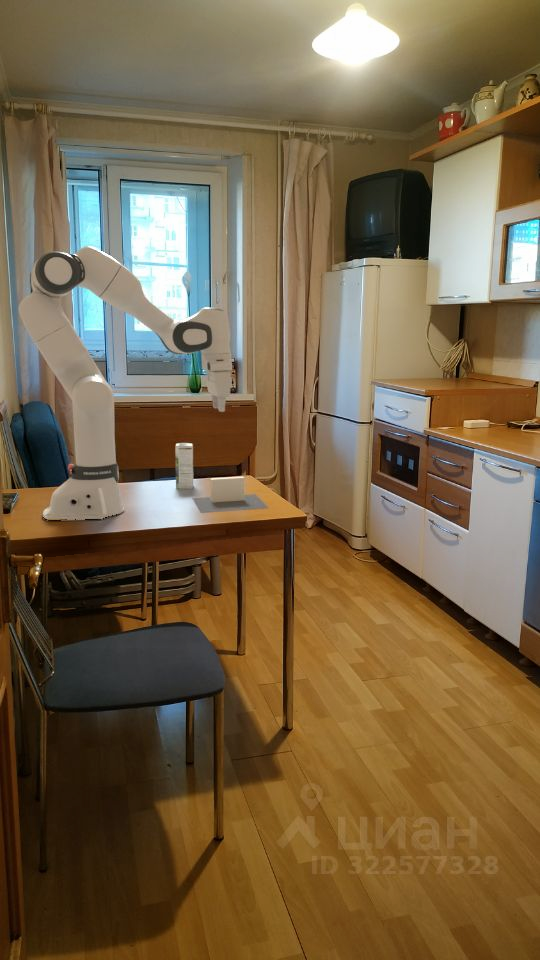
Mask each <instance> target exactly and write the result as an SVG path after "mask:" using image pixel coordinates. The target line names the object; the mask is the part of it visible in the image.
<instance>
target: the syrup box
mask: <svg viewBox="0 0 540 960" xmlns="http://www.w3.org/2000/svg"><path fill="white" fill-rule="evenodd" d="M174 451H175V452H174V453H175V454H174V455H175V489H177V490H187V489H188V490H189V489H194V444H193V443H189V442H179V443H176V444H175V449H174Z"/></svg>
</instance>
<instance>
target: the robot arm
mask: <svg viewBox="0 0 540 960" xmlns="http://www.w3.org/2000/svg"><path fill="white" fill-rule="evenodd" d="M29 284H30V294H27V296H25V297H24V298H23V299H22V300H21V301H20V303H19V306H18V313H19V316H20V318H21V322H23V326H24V328H25V329H26V331H27V334H28V335H29V337H30V338H31V340H32V342H33V343H34V345H35V346H36V348H37V350H38V351H39V352H40V354H41V356H42V357H43V359H44V360H45V361H46V363H47V366H48V367H49V368H50V369H51V371H52V372H53V374H54V375H55V377H56V378H57V380H58V381H59V383H60V384H61V386H62V388H63V389H64V391H65V392H66V393H67V395H68V396H69V399H70V400H71V401H72V405H71V406H72V418H73V419H72V420H73V421H72V422H73V437H74V455H75V463H74V464H73V463H70V464H68V466H67V471H68V475H69V477H68V479H67V480H66V481H64V482H63V483H62V484H61V485H59V487H57V488H56V489H55V490H54V491H53V492H52V494H51V497H50V504H49V506H48V507H46V508H45V509H44V510H43V512H42V518H43V517H44V518H46V519H67V520H66V521H86V520H85V519H101V520H104V519H106V518H105V517H107V518H109V517H112V515H113V516H116V514H117V515H119V514H122V513H123V512H124V511H125V507H124V504H123V502H122V498H121V493H120V489H119V479H120V475H119V465H118V462H117V459H116V456H117V455H116V440H115V439H116V437H115V427H116V426H115V425H116V424H115V394H114V390H113V388H112V386H111V385H110V384H109V383H108V382H107V380H106V379H105V377H104V375H103V374H102V372H101V370H100V368H99V367H98V365H97V364H96V363H95V360H94V359H93V357H92V355H91V354H90V352H89V351H88V349H87V347H86V346H85V343H84V342H83V340H82V339H81V337H80V336H79V335H78V333H77V331H76V329H75V328H74V326H73V324H71V321H70V320H69V318H68V317H67V315H66V314H65V311H64V310H63V307H62V298H63V297H65V296H66V295H68V294H70V292H72V290H73V289H75V288H76V287H82V288H84V289H86V290H89V292H91V293H93V295H95V296H97V298H99V299H101V300H102V301H103V302H104V303H107V304H108V305H110V306H111V307H114V308H115V309H117V310H120V311H122V312H123V313H126V314H128V315H130V316H132V317H134V318H135V319H136V320H138V321H139V322H140V323H142V324H143V325H144V326H146V327H147V328H148V329H150V330H151V331H152V332H153V333H155V335H157V337H158V338H159V340H160V341H161V343H162V345H163V346H164V348H165V349H166V350H167V351H168V352H170V353H172V354H174V355H185V354H186V355H187V354H188V355H189V354H194V353H196V352H199V351H200V353H201V354H200V355H201V356H200V357H201V369H202V370H203V371H206V378H207V379H206V381H207V382H206V383H207V384H206V385H207V392H208V393H209V394H211V399H212V400H211V401H212V407H213V408H214V409H217V410H218V412H220V413H224V412H225V411H226V398H229V397H230V395H231V383H232V382H231V381H232V379H231V371H233V364H232V351H231V347H230V342H231V330H230V328H231V327H230V320H229V317H228V314H227V312H226V311H225V310H223V309H220V308H217V307H202V308H201V309H200V310H199V311H197V312H196V313H195V314H193V315H190V316H189V317H186V318H184V319H182V320H179V319H175V318H172V317H170V316H169V315H167V314H166V313H164V312H163V311H162V310H161V309H159V307H157V306H156V305H155V304H153V303H152V302H151V301H150V300H149V299H148V298H147V297H146V295H145V294H144V291H143V287H142V283H141V281H140V280H139V278H138V277H137V276H136V275H135V274H134V273H133V272H131V270H130V269H128V268H127V267H126V266H125V265H124V264H122V263H120V262H119V261H118V260H116V259H115V258H114V257H112V256H111V255H108V254H107V253H105V252H104V251H101V250H100V249H98V248H96V247H94V246H91V245H87V246H83V247H81V248H80V249H78V250H77V251H76V252H75V253H74V254H73V253H67V252H61V251H49V252H46V253H44V254H43V255H41V256H40V257H39V258H37V260H36V261H35V262H34V263H33V265H32V267H31V271H30V276H29ZM108 516H109V517H108ZM44 518H43V519H44ZM103 518H104V519H103ZM75 519H76V520H75Z"/></svg>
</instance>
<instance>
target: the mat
mask: <svg viewBox="0 0 540 960" xmlns="http://www.w3.org/2000/svg"><path fill="white" fill-rule="evenodd" d="M192 500H193V502H194V504H195V506H196V507H197V509H198V511H199V512H200V513H201V514H202V513H203V514H205V513H214V512H216V513H218V512H230V511H231V512H232V511H233V512H234V511H244V510H245V511H246V510H248V511H249V510H259V509H260V510H262V509H263V510H264V509H269V508H270V507H269V506H268V505H267V504H266V503H265V502H264V501H263V500H262V499H261V498H260V497H259V496H258V495H257V494H256V493H254V494H253V493H252V494H244V500H241V501H225V502H211V496H207V497H205V496H204V497H192Z"/></svg>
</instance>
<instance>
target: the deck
mask: <svg viewBox="0 0 540 960" xmlns="http://www.w3.org/2000/svg"><path fill="white" fill-rule="evenodd" d="M209 480H210V483H209V484H210V497H211V502H225V501H241V500H244V495H245V477H244V476H231V477H230V476H229V477H213V478H210V479H209Z"/></svg>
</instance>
